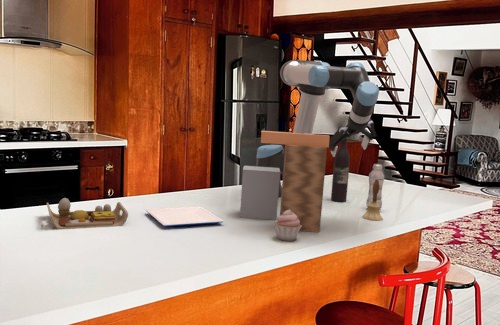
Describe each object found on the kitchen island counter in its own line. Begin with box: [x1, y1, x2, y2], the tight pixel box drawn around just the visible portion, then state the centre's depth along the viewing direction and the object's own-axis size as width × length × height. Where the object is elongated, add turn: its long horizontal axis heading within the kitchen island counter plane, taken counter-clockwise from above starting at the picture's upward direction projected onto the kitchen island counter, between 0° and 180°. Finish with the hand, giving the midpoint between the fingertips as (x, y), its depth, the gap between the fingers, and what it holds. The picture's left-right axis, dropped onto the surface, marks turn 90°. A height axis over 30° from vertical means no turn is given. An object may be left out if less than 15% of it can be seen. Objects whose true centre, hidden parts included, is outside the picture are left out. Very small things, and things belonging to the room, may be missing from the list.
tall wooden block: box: [279, 144, 328, 233], centre depth 183 cm, size 14×10×30 cm
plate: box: [145, 206, 225, 227], centre depth 185 cm, size 22×22×2 cm
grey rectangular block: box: [239, 165, 281, 221], centre depth 197 cm, size 14×10×18 cm
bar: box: [260, 130, 331, 148], centre depth 181 cm, size 24×4×4 cm, turn 88°
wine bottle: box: [330, 137, 351, 203], centre depth 234 cm, size 7×7×30 cm
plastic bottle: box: [365, 163, 385, 210], centre depth 221 cm, size 6×7×20 cm
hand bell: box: [362, 179, 384, 222], centre depth 205 cm, size 8×8×16 cm
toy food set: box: [46, 197, 129, 230], centre depth 175 cm, size 25×18×8 cm
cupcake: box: [273, 210, 302, 242], centre depth 169 cm, size 9×9×10 cm
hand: (348, 150), depth 206 cm, fingers open, 13 cm apart
